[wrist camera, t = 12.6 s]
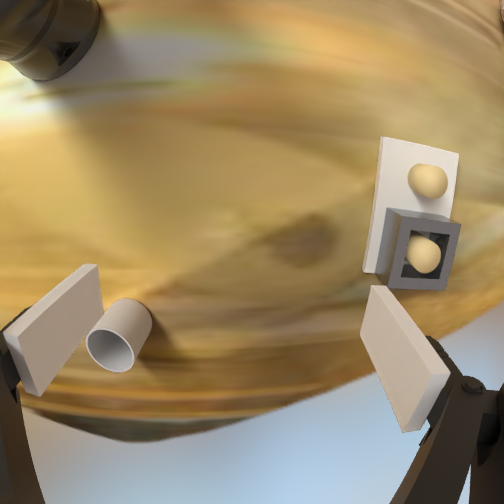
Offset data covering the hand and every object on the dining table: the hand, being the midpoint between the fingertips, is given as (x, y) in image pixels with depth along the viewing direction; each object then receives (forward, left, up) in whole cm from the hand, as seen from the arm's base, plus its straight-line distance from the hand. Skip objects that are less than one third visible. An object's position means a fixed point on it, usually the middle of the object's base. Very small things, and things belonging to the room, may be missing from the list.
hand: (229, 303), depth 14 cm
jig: (-1, +22, -27) cm, 35 cm away
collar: (+3, +22, -26) cm, 34 cm away
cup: (+20, -17, -27) cm, 38 cm away
